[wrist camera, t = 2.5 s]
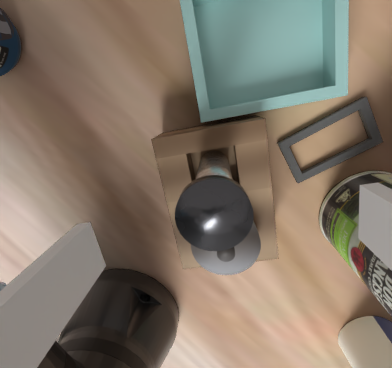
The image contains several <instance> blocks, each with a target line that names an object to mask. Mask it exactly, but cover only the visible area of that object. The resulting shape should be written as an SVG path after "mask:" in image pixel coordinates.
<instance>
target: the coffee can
mask: <svg viewBox="0 0 392 368" xmlns="http://www.w3.org/2000/svg"><path fill="white" fill-rule="evenodd" d="M371 183H380V184H382V185H384V186H386V187H388V188H390V189H392V173H389V172H384V171H366V172H362V173H358V174H355V175H353V176H350V177H348V178H346V179H345V180H343V181H341V182H340V183H339V184H337V185H336V186H335V187H334V188H333V189H332V190H331V191H330V192H329V194H328V195H327V196H326V198H325V199H324V201H323V203H322V206H321V209H320V214H319V224H320V228H321V231H322V233H323V235H324V236H325V238H326V239H327V240H328V241H329V242H330V243H331V244H332V245H333V246H334V247H335V249H336V250H337V251H338V252H339V253H340V255H341V256H342V257H343V258H344V260H345V261H346V262H347V263H348V264H349V266H350V267H351V268H352V269H353V270H354V272H355V273H356V274H357V275H358V276H359V278H360V279H361V280H362V281H363V282H364V284H365V285H366V286H367V287H368V289H369V290H370V291H371V292H372V294H373V295H374V296H375V297H376V298H377V300H378V301H379V302H380V303H381V304H382V305H383V307H384V308H385V309H386V310H387V311H388V313H389V314H390V315H391V316H392V270H391V269H390V268H388V267H387V266H386V265H385V264H384V263H383V262H382V261H381V260H380V259H379V258H378V257H377V256H376V255H375V254H374V253H373V252H372V251H371V250H370V249H369V248H368V247H367V246H366V245H365V244H364V243H363V242H362V241H361V240H360V239H358V231H359V194H360V185H364V184H371Z"/></svg>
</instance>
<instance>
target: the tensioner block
mask: <svg viewBox="0 0 392 368" xmlns="http://www.w3.org/2000/svg"><path fill="white" fill-rule="evenodd" d="M151 140H152V144H153V148H154V152H155V156H156V160H157V165H158V169H159V173H160V177H161V181H162V185H163V189H164V193H165V198H166V202H167V206H168V210H169V214H170V218H171V222H172V226H173V230H174V235H175V239H176V243H177V247H178V251H179V255H180V259H181V263H182V268H183V269H190V268H199V267H203V268H204V269H206V270H208V271H210V272H212V273H215V274H220V275H232V274H237V273H240V272H243V271H245V270H246V269H248V268H249V267H251V266H252V265H253V264H254V262H255V261H264V260H273V259H279V257H278V246H277V236H276V225H275V215H274V204H273V193H272V183H271V172H270V162H269V151H268V141H267V130H266V120H265V118H262V117H259V116H251V117H245V118H240V119H235V120H229V121H224V122H219V123H213V124H208V125H202V126H197V127H192V128H186V129H181V130H176V131H170V132H165V133H162V134H160V135H158V136H157V137H155V138H153V139H151ZM210 151H219V152H221V153H223V154H224V155H225V156H226V157H227V159H228V162H229V166H230V171H231V175H232V179H233V180H234V181H236V182H237V183H238V184H240V185H241V186H242V187H243V188H244V190H245V191H246V193H247V195H248V197H249V199H250V202H251V205H252V208H253V215H254V218H253V224H252V227H251V230H250V232H249V233H248V235H247V236H246V238H245V239H244V240H243V241H242V242H240V243H239V244H238V245H236V246H234V247H232V248H230V249H227V250H223V251H207V250H203V249H199V248H197V247H195V246H193V245H191V244H190V243H189V242H187V241H186V240H185V239H184V238H183V236H182V235H181V234H180V232H179V230H178V228H177V226H176V222H175V208H176V205H177V202H178V199H179V197H180V195H181V193H182V191H183V190H184V188H185V187H186V186H187V185H188V184H189V183H191V182H192V181H193V180H195V179H196V176H197V172H198V168H199V164H200V160H201V158H202V157H203V155H204V154H206V153H207V152H210Z"/></svg>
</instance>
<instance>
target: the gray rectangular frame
mask: <svg viewBox="0 0 392 368" xmlns="http://www.w3.org/2000/svg"><path fill="white" fill-rule="evenodd" d="M357 110H358V111H359V114H360V117H361V119H362V122H363V124H364V127H365V130H366V132H367V135H368V137H369V138H368V139H366V140H364V141H362V142H360V143H358V144H356V145H354V146H352V147H350V148H348V149H346V150H344V151H342V152H340V153H338V154H336V155H334V156H332V157H330V158H328V159H326V160H324V161H322V162H320V163H318V164H316V165H314V166H312V167H310V168H308V169H306V170H304V171H302V172H301V170H300V168H299V166H298V164H297V162H296V160H295V158H294V156H293V154H292V152H291V149H290V147H289V146H291V145H293V144H295V143H297V142H299V141H300V140H302V139H304V138H306V137H308V136H310V135H312V134H314V133H316V132H318V131H319V130H321V129H323V128H325V127H327V126H329V125H331V124H333V123H335V122H337V121H338V120H340V119H342V118H344V117H346V116H348V115H350V114H352V113H354V112H356V111H357ZM382 142H383V140H382V137H381V135H380V132H379V129H378V127H377V124H376V121H375V118H374V116H373V113H372V110H371V108H370V105H369V102H368V99H367V97H362V98H360V99H358V100H356V101H354V102H352V103H350V104H349V105H347V106H345V107H343V108H341V109H339V110H337V111H336V112H334V113H332V114H330V115H328V116H326V117H324V118H322V119H321V120H319V121H317V122H315V123H313V124H311V125H309V126H308V127H306V128H304V129H302V130H300V131H298V132H296V133H294V134H293V135H291V136H289V137H287V138H285V139H283V140H281V141H280V142H278V145H279V147H280V149H281V152H282V154H283V156H284V158H285V160H286V162H287V164H288V166H289V168H290V170H291V172H292V174H293V176H294V178H295V180H296V182H297V183H300V182H302V181H304V180H306V179H308V178H310V177H312V176H314V175H316V174H318V173H320V172H323V171H325V170H327V169H329V168H331V167H333V166H335V165H337V164H339V163H341V162H343V161H345V160H347V159H349V158H351V157H353V156H355V155H358V154H360V153H362V152H364V151H366V150H368V149H370V148H372V147H374V146H376V145H378V144H380V143H382Z"/></svg>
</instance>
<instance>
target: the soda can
mask: <svg viewBox="0 0 392 368" xmlns="http://www.w3.org/2000/svg"><path fill="white" fill-rule="evenodd" d="M20 56H21V41H20V37H19V34H18V32H17V30H16V28H15V26H14V25H13V23H12V21H11V20H10V18H9V17H8V16H7V14H6V13H5V12H4V11H3V10H2V9H1V8H0V76H2V75H4V74H6V73H8V72H9V71H10V70H11V69H12V68H13V67H14V66H15V65H16V64H17V63H18V61H19V59H20Z"/></svg>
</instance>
